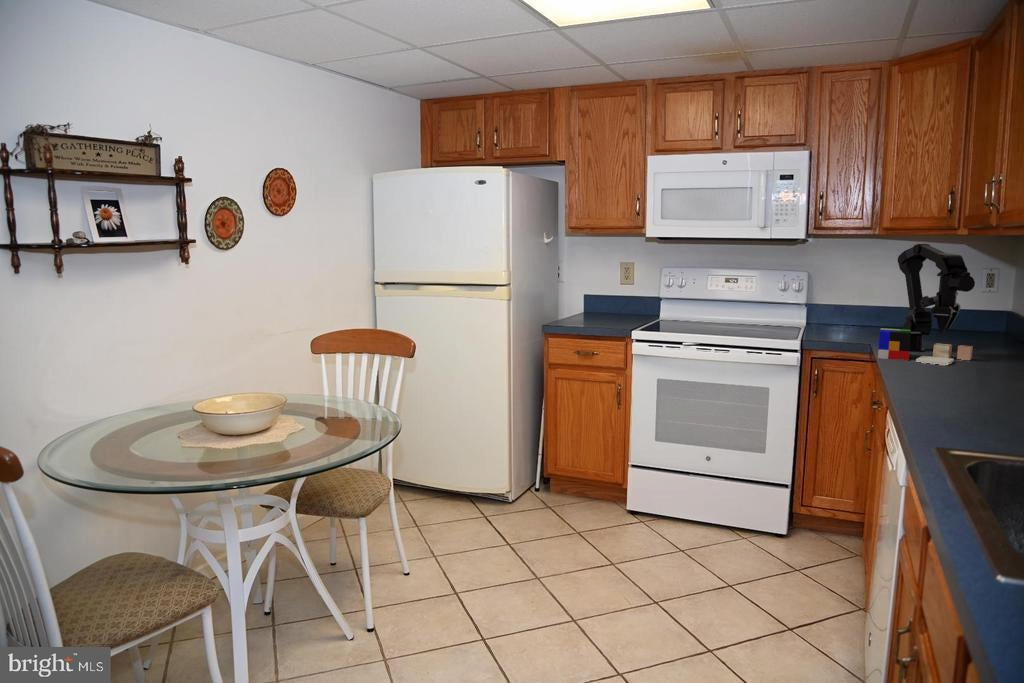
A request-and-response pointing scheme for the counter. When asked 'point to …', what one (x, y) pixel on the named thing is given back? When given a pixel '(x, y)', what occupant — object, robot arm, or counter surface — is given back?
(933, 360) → the building plate
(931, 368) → the counter surface
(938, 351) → the maple brick
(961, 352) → the terracotta brick
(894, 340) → the puzzle toy
